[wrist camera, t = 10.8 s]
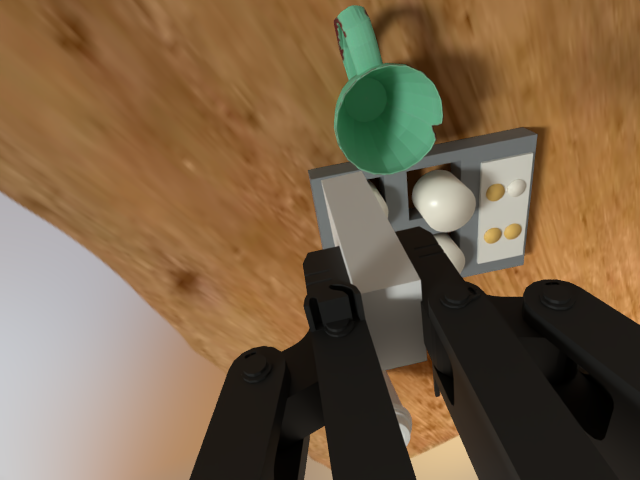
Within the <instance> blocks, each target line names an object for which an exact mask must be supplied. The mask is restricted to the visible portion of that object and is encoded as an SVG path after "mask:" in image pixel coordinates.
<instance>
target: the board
mask: <svg viewBox="0 0 640 480" xmlns="http://www.w3.org/2000/svg"><path fill="white" fill-rule="evenodd" d="M536 143H537V134H536V133H534V132H532V131H530V130H528V129H526V128H524V127H521V128H516V129H511V130H506V131H501V132H496V133H491V134H486V135H481V136H476V137H471V138H466V139H461V140H456V141H451V142H446V143H441V144H436V145H433V147H432V149H431V150H430V151H429V152H428V153H427V155H426V156H425V157H424V158H423V159H422V160H421V161H420V162H419V163H417V164H415V165H414V166H412V167H410V168H409V169H407V170H406V171H411V170H416V169H421V168H426V167H431V166H436V165H441V164H446V163H451V173H452V174H453V175H454V176H455V177H456V178H457V179H459V180H460V181H461V182H462V183H463V184H464V185H465V186H466V187H467V188H469V189H470V190H471V191H472V193H473V194H474V196H475V200H476V207H475V211H474V213H473V215H472V217H471V219H470V220H469V221H468V222H467V223H466V224H465V225H464V226H462V227H461V228H459V229H457V230H454V231H451V239H452V240H453V241H454V242H455V244H456V245H457V246H458V247H459V249H460V250H461V251H462V252H463V254H464V256H465V265H464V268H463V270H462V272H461V273H460V275H461V277H467V276H472V275H477V274H482V273H486V272H491V271H496V270H501V269H505V268H510V267H515V266H520V265H523V263H524V254H525V244H526V235H527V226H528V217H529V207H530V198H531V189H532V180H533V171H534V161H535V152H536ZM359 171H362V170H360V169H358V168H357V167H356V166H355V165H353V164H352V163H351V162H346V163H341V164H336V165H331V166H326V167H321V168H316V169H311V170H308V173H309V178H310V184H311V189H312V194H313V200H314V205H315V211H316V216H317V221H318V227H319V232H320V237H321V243H322V248H323V249H327V248H332V247H335V244H334V240H333V235H332V230H331V225H330V220H329V216H328V211H327V206H326V201H325V196H324V192H323V187H322V182H321V180H324V179H329V178H333V177H337V176H342V175H346V174H351V173H355V172H359ZM406 171H402V172H399V173H395V174H391V175H374V174H371V173H368V172H365V171H362V172H363V174H364V176H365V178H366V180H367V179H372V178H376V177H378V178H379V189H380V195H381V196H382V198H383V199H384V201H385V203H386V205H387V207H388V221H389V222H390V224H391V226H392V228H393V230H394V232H396V231H400V230H405V229H409V228H413V227H418V226H420V227H422V228H423V229H425V230H427V231H429V232H431V233H432V234H437V233H441V232H439V231H436V230H434V229H433V228H431V227H430V226H429V225H428V223H427V222H426V221H425V219H424V218H423V217H422V215H421V214H420V212H419V211H418V210H417V208H416V207H414V208H409V209H408V192H407V174H406Z"/></svg>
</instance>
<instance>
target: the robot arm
mask: <svg viewBox="0 0 640 480" xmlns="http://www.w3.org/2000/svg"><path fill="white" fill-rule="evenodd" d="M321 182H322V187H323V192H324V196H325V201H326V206H327V211H328V216H329V220H330V225H331V230H332V235H333V240H334V244H335V247H332V248H327V249H323V250H319V251H314V252H310V253H308V254H307V256H306V258H305V260H304V262H303V269H304V275H305V282H306V288H307V296H306V297H305V300H304V310H305V313H306V317H307V320H308V324H309V327H310V329H309V331H308V332H307V334H306V335H305V337H304V338H303V339H302V340H301V341H299V342H298V343H297V344H295V345H293V346H292V347H290V348H288V349H286V350H284V351H282V352H281V351H279V350H277V349H275V348H274V347H267V346H261V347H256V348H252V349H250V350H248V351H246V352H244V353H242V354H241V355H240V356H239V357H238V358H237V359H236V360H234V362H233V364H232V365H231V367H230V369H229V371H228V373H227V376H226V379H225V382H224V385H223V387H222V390H221V393H220V396H219V398H218V401H217V404H216V407H215V410H214V412H213V415H212V418H211V421H210V424H209V426H208V429H207V432H206V435H205V437H204V440H203V443H202V446H201V449H200V451H199V454H198V457H197V460H196V463H195V465H194V468H193V471H192V474H191V477H190V479H189V480H304V475H305V469H306V462H307V454H308V447H309V440H310V434H311V433H313V432H315V431H317V430H318V429H320V428H322V427H323V426H325V430H326V437H327V443H328V450H329V457H330V463H331V470H332V476H333V480H416V476H415V473H414V470H413V467H412V464H411V461H410V458H409V454H408V451H407V448H406V445H405V442H404V439H403V435H402V432H401V429H400V426H399V423H398V420H397V417H396V413H395V410H394V407H393V404H392V401H391V398H390V395H389V391H388V388H387V385H386V382H385V379H384V376H383V373H382V371H384V370H389V369H393V368H397V367H402V366H406V365H410V364H415V363H419V362H423V361H427V353H426V349H427V351H428V353H429V355H430V357H431V360H432V364H433V379H434V391H435V396H436V397H438V396H440V392H441V394H442V396H443V399H444V401H445V403H446V406H447V408H448V410H449V412H450V415H451V417H452V419H453V422H454V424H455V426H456V428H457V431H458V433H459V435H460V438H461V440H462V442H463V444H464V447H465V449H466V451H467V454H468V456H469V458H470V460H471V463H472V465H473V467H474V470H475V472H476V474H477V476H478V479H479V480H640V325H639V324H637V323H636V322H634V321H633V320H631V319H629V318H628V317H626V316H625V315H623V314H621V313H620V312H618V311H617V310H615V309H614V308H612V307H610V306H609V305H607V304H606V303H604V302H603V301H601V300H599V299H598V298H596V297H595V296H593V295H592V294H590V293H588V292H587V291H585V290H584V289H582V288H580V287H578V286H576V285H574V284H572V283H570V282H566V281H561V280H541V281H537V282H533V283H532V284H531V285H529V286H528V287H526V289H525V292H524V294H523V297H498V296H490V295H486V294H485V293H484V291H482V290H481V289H480V288H479V287H478V286H476V285H474V284H472V283H469V282H465V281H464V279H463V278H462V277H461V275H460V274H459V272H458V271H457V269H456V268H455V266H454V265H453V263H452V262H451V260H450V259H449V258H448V256H447V255H446V253H444V250H443V249H442V247H441V246H440V245H439V244H438V242H437V240H436V239H435V237H434V236H433V234H432V233H431V232H429V231H427V230H425V229H423V228H422V227H420V226H418V227H413V228H409V229H405V230H400V231H396V232H394V230H393V228H392V226H391V224H390V222H389V221H388V219H387V217H386V215H385V213H384V211H383V209H382V208H381V206H380V204H379V202H378V200H377V198H376V197H375V195H374V193H373V191H372V189H371V187H370V185H369V184H368V182H367V180H366V178H365V176H364V174H363V172H362V171H359V172H355V173H351V174H346V175H342V176H337V177H333V178H329V179H324V180H321Z"/></svg>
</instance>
